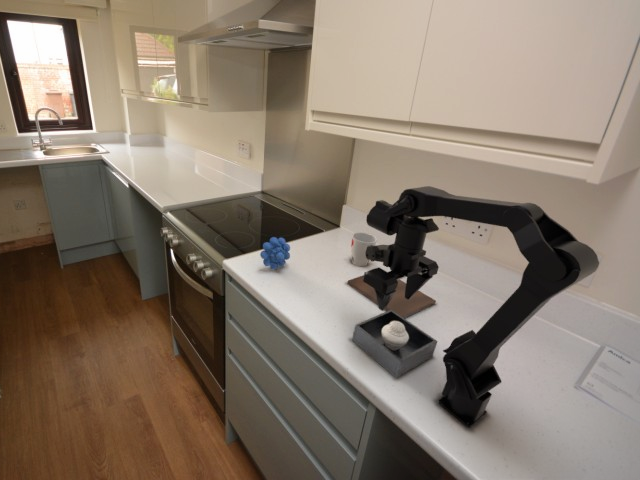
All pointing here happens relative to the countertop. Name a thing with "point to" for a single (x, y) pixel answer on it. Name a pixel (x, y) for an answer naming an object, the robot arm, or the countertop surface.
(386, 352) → the dark grey open box
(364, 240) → the cup
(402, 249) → the robot arm
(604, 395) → the countertop surface
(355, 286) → the board
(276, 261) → the grapes
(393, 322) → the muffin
